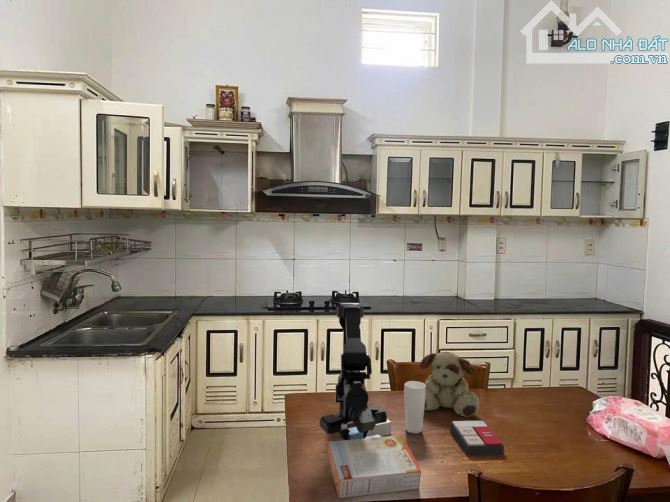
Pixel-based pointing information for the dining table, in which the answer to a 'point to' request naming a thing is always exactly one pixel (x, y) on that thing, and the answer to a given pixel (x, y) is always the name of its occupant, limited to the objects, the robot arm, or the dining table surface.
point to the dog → (449, 384)
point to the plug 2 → (381, 429)
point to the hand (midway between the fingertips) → (353, 448)
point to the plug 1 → (354, 434)
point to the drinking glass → (414, 405)
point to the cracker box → (373, 466)
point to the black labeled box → (476, 438)
